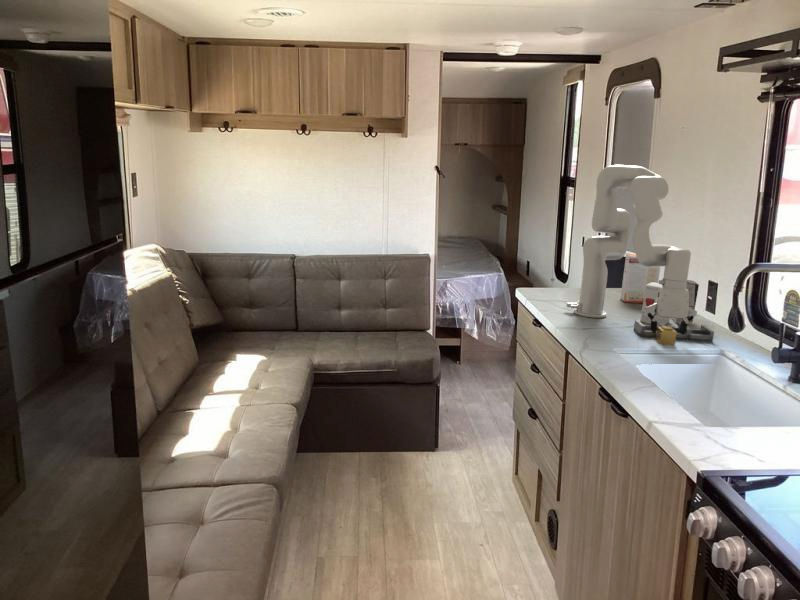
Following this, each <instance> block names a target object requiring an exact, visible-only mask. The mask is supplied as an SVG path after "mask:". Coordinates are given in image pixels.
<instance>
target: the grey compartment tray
mask: <svg viewBox="0 0 800 600" xmlns="http://www.w3.org/2000/svg"><path fill="white" fill-rule="evenodd" d="M680 325H681V323H678V325H677V327H675V326H672V327H671V326H670V327H671V328H673V329H674V330H675V331H676V332H677V333H676V339H675V341H686V342H687V341H689V342H698V343H699V342H701V343H713V339H714V337H715V336H714V334H715V331H714V330H712V329H711V328H710V327H708V326H707V325H705V324H701V325H700V329H699V328H690V327H689V326H687V329H686V332H685V334H684V335H682V334H681V333H680ZM661 326H666V325H664V324H663V323H662V322H659V321H657V327H661ZM633 331H634V332H635V333H636V334H637V335H638V337H641V338H649V339H650V338H651V339H656V333H653V332H652V331H651V329H650V325H648V324H647V325H646V324H643V322H640V319H634V325H633ZM656 332H657V328H656Z"/></svg>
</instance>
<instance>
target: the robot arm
mask: <svg viewBox="0 0 800 600" xmlns="http://www.w3.org/2000/svg"><path fill="white" fill-rule="evenodd" d="M596 179H597V180H596V187H595V188H596V189H595V190H596V192H595V194H596V195H595V200H594V201H595V202H594V205H593V211H592V219H591V228H592V230H593V231H594V232H596V233H601V234H609V235H594V236H593V235H592V236H591V237H588V238H587V239H586V240H585V241H584V243H583V245H582V256H583V267H582V277H581V284H580V293H579V299H578V300H577V301H576V302H566V308H570V309H574V310H573V313H574V314H575V315H578V316H581V317H585V318H593V319H601V318H606V317H607V312H606V311H604V306H605V298H606V290H607V285H608V284H607V282H608V275H609V274H608V273H609V272H608V271H609V270H608V267H607V264H606V261H617V260H621V259H622V258H624V256H626V254H627V251H628V245H629V241H630V236H631V230H632V225H633V223H632V217H631V214H630V212H629V211H628V210H626V209H624V208H618V204H619V200H620V198H619V193H618V190H617V189H624V190H625V189H627V190H628V189H629V193H630V198H631V201H632V205H633V208H634V212H635V215H636V219H637V222H636V225H635V228H634V230H633V236H632V244H633V245H632V246H633V249H634V255H636V257H637V259H638V261H639V262H640V263H641V264H642V265H643V266H648V267H651V266H660V267H664V272H663V277H662V279H661V280H660V279H659V280H658V283H659V284H661V285H662V287H660V289H659V292H658V295H657V299H656V303H655V304H652V305H650V306H647V307H645V311H646V313H647V316H648V317H649V318H650V319H651V324H650V325H649V326H650V329H651V331H652V332H653V333H656V328H657V322H656V320H657V319H658V318H659V317H665V318H670V319H672V318H680V319H682V322H681V325H680V333H681V334H682V335H684V334H685V332H686V329H687V327H688V325H689V324H688V323H689V322H690V321H691V320H692V319H693V320H694V318H695V316H696V315H697V314H698V311H697V310H696V309H695V310H694V309H692V308H691V307H689V291H688V290H687V289H686V284H687V280H688V275H689V272H690V270H689V269H690V262H691V255H692V253H691V251H690V250H689V249H686V248H681V247H675V246H673V245H670V244H652V242H651V238H650V228H651V226H652V225H653V224H655V223H657V222H658V221H660V220H661V219H662V217H663V216H664V215H663V210H662V207H661V205H660V204H661V203H660V201H661V200H663V199H666V197H667V196H668V194H669V190H670V189H669V184H668V182H667V180H666V179H665V178H664V177H662V176H661V175H659V174H657V173H655V172H653V171H652V170H649V169H648V168H646V167H643V166H640V165H626V164H625V165H624V164H614V165H613V164H612V165H608V166H605V167H604V168H603V169H601V170H600V172H599V174H598V175H597V178H596ZM654 308H655V309H654ZM652 309H654V312H655V313H654V314H653V315H652V314H651V312H650V310H652ZM688 310H689V311H690V312H691V314H690V315H689V316H688ZM687 316H688V317H687Z"/></svg>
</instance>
